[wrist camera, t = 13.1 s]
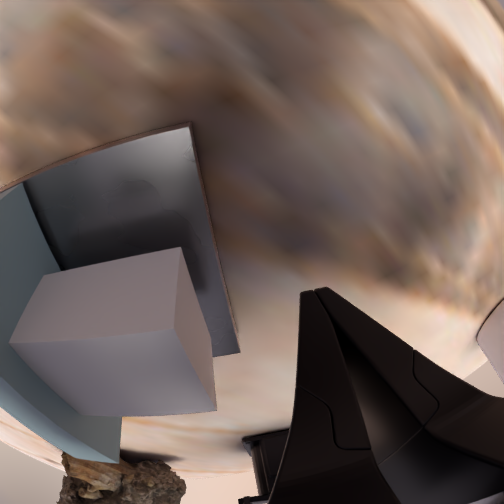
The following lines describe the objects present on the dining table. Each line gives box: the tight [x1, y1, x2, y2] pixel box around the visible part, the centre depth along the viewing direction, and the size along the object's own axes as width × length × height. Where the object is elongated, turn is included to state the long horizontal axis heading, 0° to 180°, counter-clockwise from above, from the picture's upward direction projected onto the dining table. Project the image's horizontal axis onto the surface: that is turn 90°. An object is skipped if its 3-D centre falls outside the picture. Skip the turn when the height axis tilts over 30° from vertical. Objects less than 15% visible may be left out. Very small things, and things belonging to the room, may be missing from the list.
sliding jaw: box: [0, 183, 217, 464], centre depth 7 cm, size 10×8×5 cm
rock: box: [57, 451, 186, 504], centre depth 19 cm, size 18×14×15 cm
